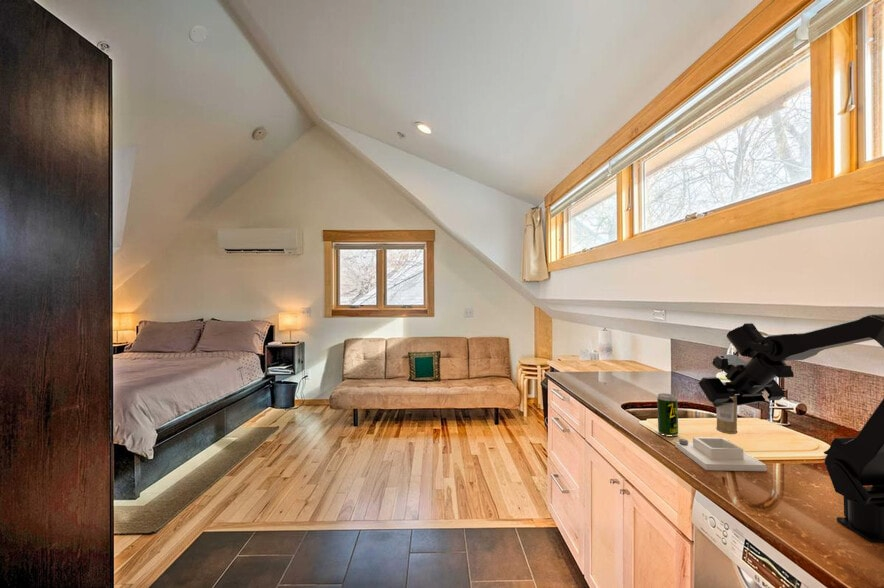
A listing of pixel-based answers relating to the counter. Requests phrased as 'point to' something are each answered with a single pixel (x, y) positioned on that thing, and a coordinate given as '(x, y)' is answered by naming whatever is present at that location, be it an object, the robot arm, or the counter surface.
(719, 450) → the housing
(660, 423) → the beer can
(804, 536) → the counter surface
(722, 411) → the sprinkles bottle
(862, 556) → the counter surface
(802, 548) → the counter surface
